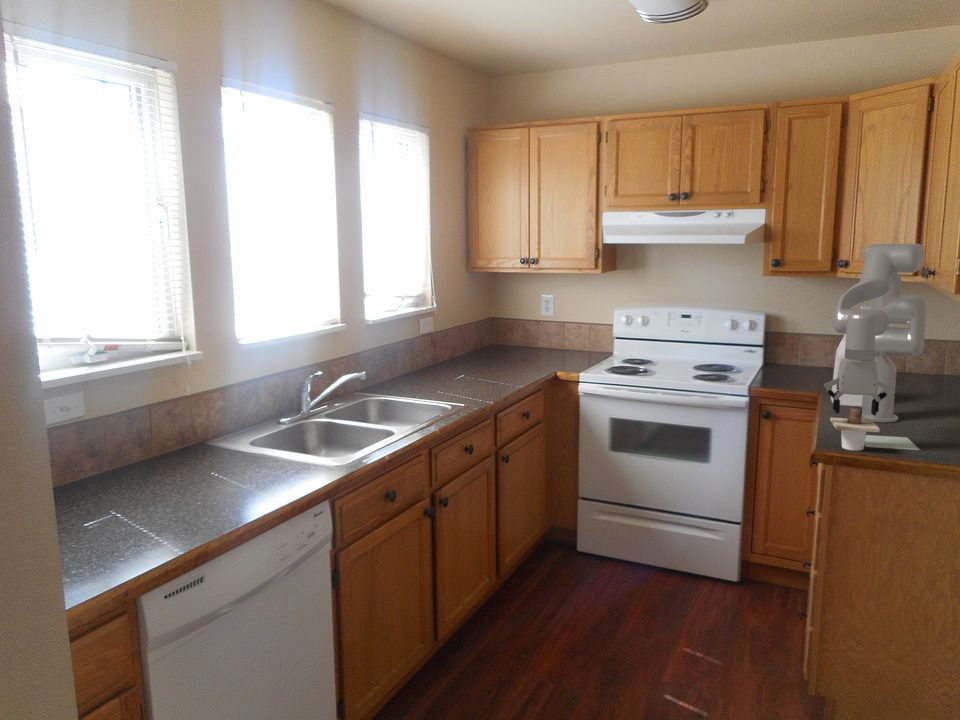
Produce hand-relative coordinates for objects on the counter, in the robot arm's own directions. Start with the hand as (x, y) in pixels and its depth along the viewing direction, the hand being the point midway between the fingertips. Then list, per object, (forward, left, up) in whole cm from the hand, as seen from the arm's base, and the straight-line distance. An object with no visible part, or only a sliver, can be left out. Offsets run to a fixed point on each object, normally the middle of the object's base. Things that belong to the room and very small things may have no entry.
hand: (855, 413), depth 208 cm
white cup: (0, 0, -11) cm, 11 cm away
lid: (0, 0, -4) cm, 4 cm away
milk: (-67, +11, -11) cm, 69 cm away
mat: (-9, +11, -11) cm, 18 cm away
